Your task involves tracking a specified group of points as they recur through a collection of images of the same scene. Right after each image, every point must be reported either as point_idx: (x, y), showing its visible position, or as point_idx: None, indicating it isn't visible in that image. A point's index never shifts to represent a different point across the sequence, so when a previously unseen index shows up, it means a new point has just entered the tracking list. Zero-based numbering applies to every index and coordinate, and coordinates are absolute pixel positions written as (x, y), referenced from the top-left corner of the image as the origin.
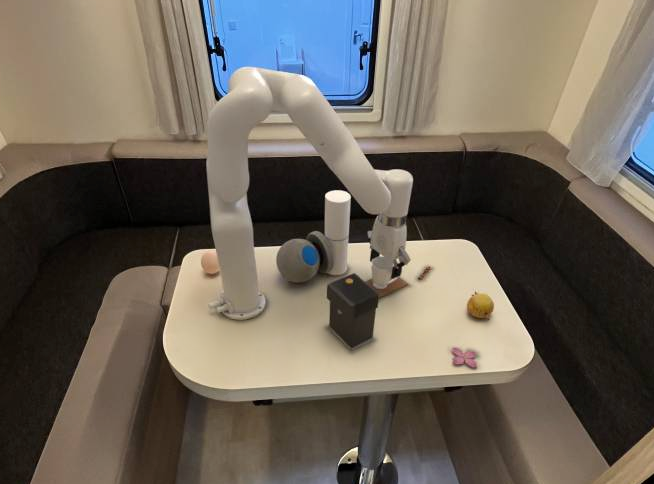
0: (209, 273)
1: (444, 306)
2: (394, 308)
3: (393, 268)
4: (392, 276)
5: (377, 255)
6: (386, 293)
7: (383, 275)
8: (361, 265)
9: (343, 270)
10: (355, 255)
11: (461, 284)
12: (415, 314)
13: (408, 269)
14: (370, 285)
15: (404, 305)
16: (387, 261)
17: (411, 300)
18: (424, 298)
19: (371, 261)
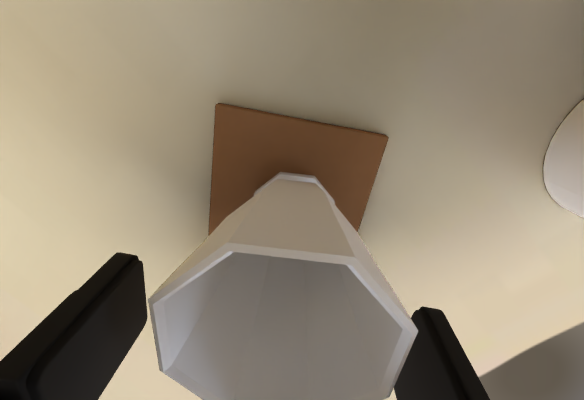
0: None
1: (12, 285)
2: (98, 113)
3: (16, 362)
4: (104, 268)
5: (410, 397)
6: (214, 177)
7: (209, 238)
8: (480, 268)
9: (571, 150)
10: (552, 305)
11: (99, 397)
12: (7, 158)
13: None
14: (329, 167)
15: (94, 173)
16: (295, 381)
17: (110, 226)
18: (94, 272)
19: (421, 311)
